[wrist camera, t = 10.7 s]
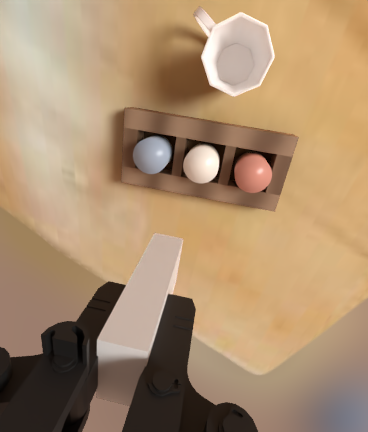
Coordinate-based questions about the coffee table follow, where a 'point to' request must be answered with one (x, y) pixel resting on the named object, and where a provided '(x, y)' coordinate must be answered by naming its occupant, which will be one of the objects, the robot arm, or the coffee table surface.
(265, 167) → the pink egg
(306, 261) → the coffee table surface
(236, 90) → the cup
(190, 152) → the cream rounded knob
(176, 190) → the brown compartment tray
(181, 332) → the robot arm
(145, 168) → the blue egg
